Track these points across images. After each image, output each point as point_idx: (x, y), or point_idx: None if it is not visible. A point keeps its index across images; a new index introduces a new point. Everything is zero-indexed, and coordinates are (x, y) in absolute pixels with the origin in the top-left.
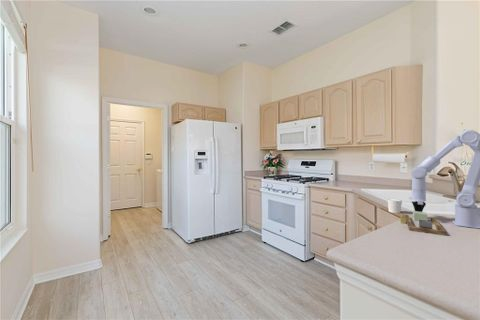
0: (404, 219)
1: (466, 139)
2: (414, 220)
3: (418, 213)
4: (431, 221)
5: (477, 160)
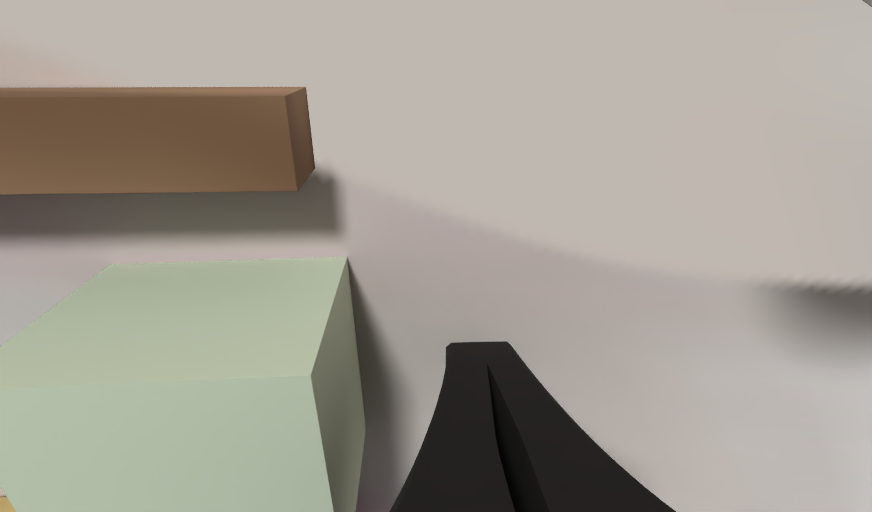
0: None
1: None
2: (110, 271)
3: (4, 474)
4: None
5: None
